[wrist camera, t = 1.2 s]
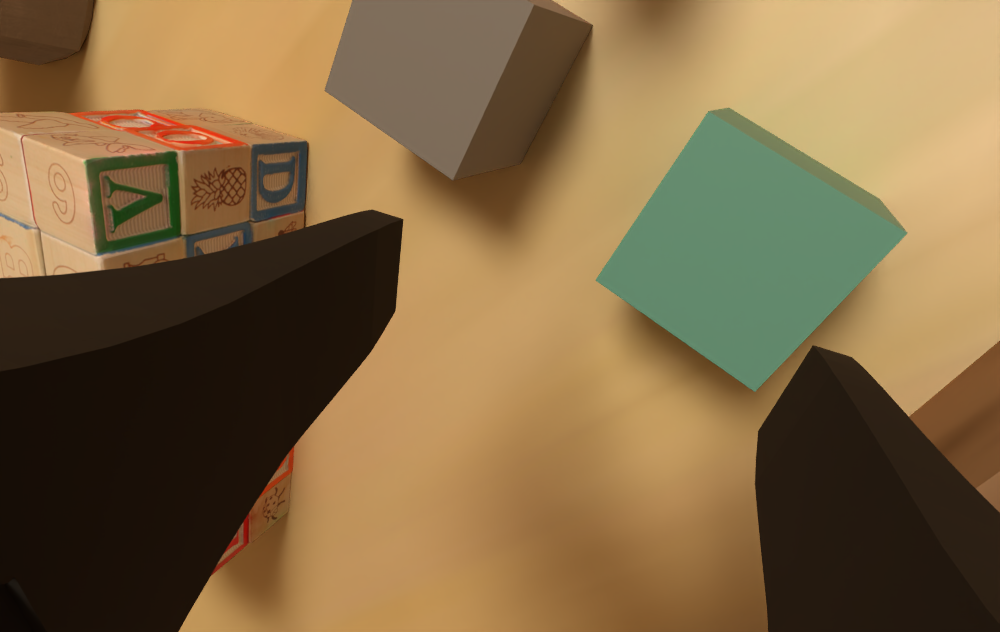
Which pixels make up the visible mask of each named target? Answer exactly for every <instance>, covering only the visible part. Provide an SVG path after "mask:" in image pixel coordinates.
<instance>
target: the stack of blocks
mask: <svg viewBox="0 0 1000 632" xmlns="http://www.w3.org/2000/svg"><path fill="white" fill-rule="evenodd" d="M306 166H307V141H305V140H303V139H300V138H296V137H293V136H290V135H287V134H284V133H281V132H277V131H274V130H271V129H268V128H265V127H262V126H259V125H255V124H253V123H251V122H248V121H245V120H242V119H239V118H236V117H233V116H230V115H226V114H223V113H220V112H216V111H212V110H208V109H172V110H154V111H144V110H118V111H91V112H77V113H65V112H55V111H50V112H7V113H0V278H13V277H30V276H47V275H61V274H70V273H79V272H89V271H98V270H107V269H117V268H126V267H134V266H141V265H148V264H154V263H160V262H166V261H172V260H178V259H183V258H188V257H193V256H198V255H203V254H208V253H212V252H217V251H221V250H225V249H229V248H233V247H237V246H240V245H244V244H248V243H252V242H256V241H260V240H264V239H268V238H272V237H275V236H279V235H282V234H286V233H289V232H292V231H296V230H299V229H302V228H304V205H305V189H306ZM293 454H294V447H293V448H292V449H291V451H290V452H289V453H288V455H287V456H286V457H285V459H284V460H283V462H282V463H281V465H280V466H279V468H278V469H277V471H276V472H275V474H274V475H273V477H272V478H271V480H270V481H269V483H268V484H267V486H266V488H265V489H264V491H263V492H262V494H261V495H260V497H259V498H258V500H257V501H256V503H255V504H254V506H253V507H252V509H251V511H250V512H249V514H248V515H247V517H246V519H245V520H244V522H243V523H242V525H241V527H240V528H239V530H238V531H237V533H236V535H235V536H234V538H233V539H232V541H231V543H230V544H229V546H228V547H227V549H226V551H225V552H224V554H223V556H222V557H221V559H220V561H219V562H218V564H217V566H216V568H215V569H214V571H213V573H212V574H214V573H215V572H216V571H217V570H219V569H220V568H221V567H222V566H223V565H224V564H225V563H227V562H228V561H229V560H230V559H231V558H232V557H234V556H235V555H236V554H237V553H238V552H239V551H241V550H242V549H243V548H244V547H245V546H246V545H247V544H248V543H251V542H253V541H255V540H256V539H257V538H258V537H259V536H260V535H262V534H263V533H264V532H265V531H266V530H268V529H269V528H270V527H271V526H272V525H273V524H274V523H275V522H276V521H278V520H279V519H280V518H281V517H282V516H283V515H285V514H286V513H287V512H288V511H289V501H290V484H291V472H292V470H293ZM212 574H211V575H212Z"/></svg>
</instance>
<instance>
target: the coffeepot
mask: <svg viewBox="0 0 1000 632" xmlns="http://www.w3.org/2000/svg"><path fill="white" fill-rule="evenodd" d="M93 4H94V0H0V57H1V58H7V59H12V60H17V61H22V62H27V63H32V64H37V65H41V64H44V63H48V62H51V61H55V60H60V59H65V58H67V57H69V56H70V55H72V54H74V53H75V52H78V51H79V50H80V48H81V46H82V44H83V42H84V40H85V38H86V36H87V33H88V30H89V27H90V23H91V19H92V13H93Z"/></svg>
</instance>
